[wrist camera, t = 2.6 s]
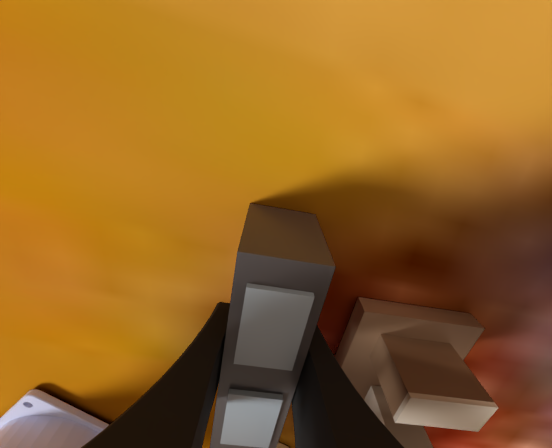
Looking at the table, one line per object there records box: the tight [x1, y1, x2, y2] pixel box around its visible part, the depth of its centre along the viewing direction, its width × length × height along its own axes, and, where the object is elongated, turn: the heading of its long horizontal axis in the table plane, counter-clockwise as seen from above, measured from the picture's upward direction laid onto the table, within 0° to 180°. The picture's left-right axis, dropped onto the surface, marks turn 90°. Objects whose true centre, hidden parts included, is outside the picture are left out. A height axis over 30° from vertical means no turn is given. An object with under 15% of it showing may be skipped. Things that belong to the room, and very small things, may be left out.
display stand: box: [335, 297, 498, 448], centre depth 13 cm, size 11×6×4 cm, turn 170°
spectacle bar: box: [210, 203, 336, 448], centre depth 11 cm, size 10×3×4 cm, turn 170°
